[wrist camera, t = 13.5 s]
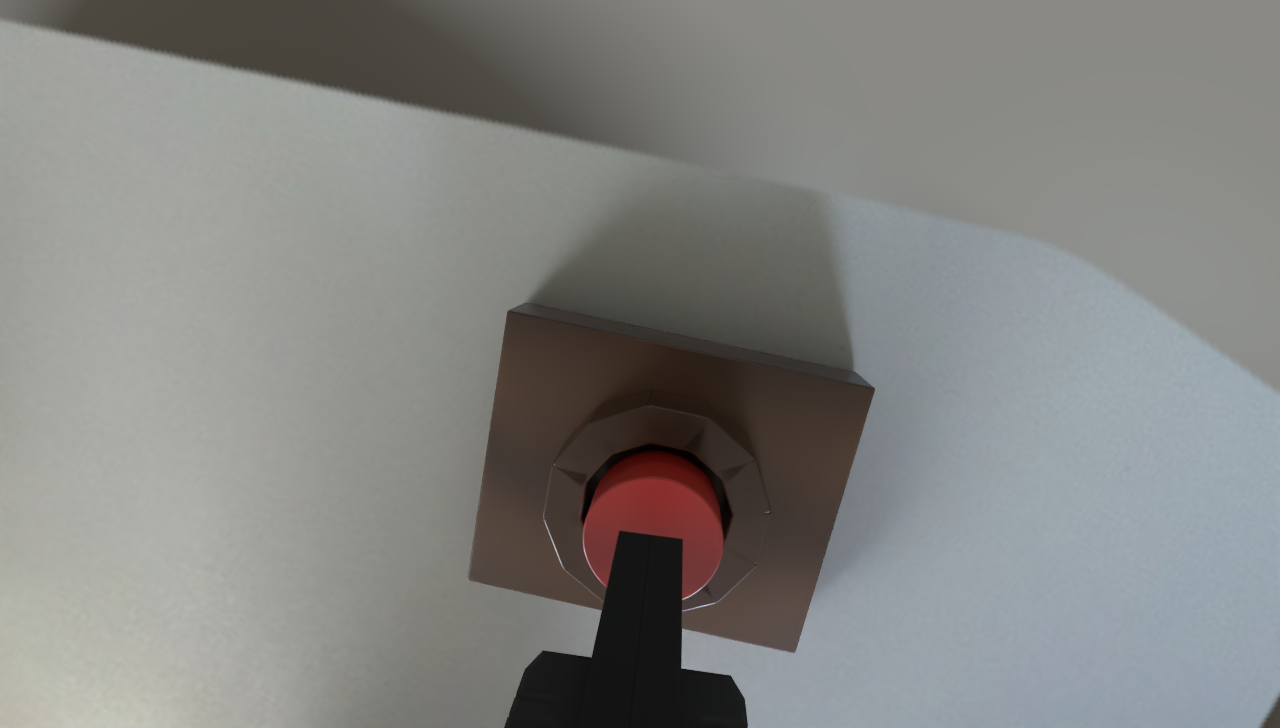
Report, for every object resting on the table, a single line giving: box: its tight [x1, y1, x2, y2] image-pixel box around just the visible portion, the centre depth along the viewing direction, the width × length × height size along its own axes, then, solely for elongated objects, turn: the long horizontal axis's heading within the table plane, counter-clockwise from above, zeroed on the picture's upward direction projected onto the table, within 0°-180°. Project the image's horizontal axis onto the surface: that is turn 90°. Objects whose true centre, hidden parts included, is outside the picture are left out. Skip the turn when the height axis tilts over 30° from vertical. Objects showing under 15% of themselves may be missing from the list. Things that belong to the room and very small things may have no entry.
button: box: [582, 451, 724, 600], centre depth 18 cm, size 4×4×2 cm
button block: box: [468, 303, 875, 654], centre depth 20 cm, size 10×12×4 cm
